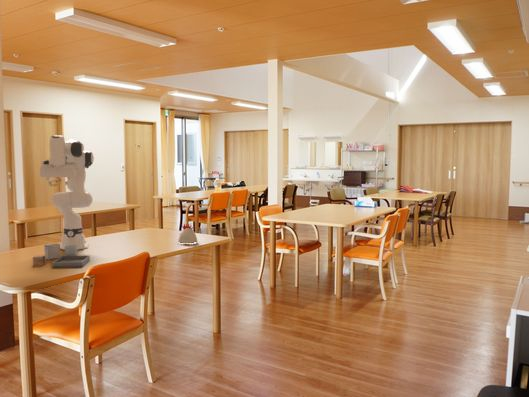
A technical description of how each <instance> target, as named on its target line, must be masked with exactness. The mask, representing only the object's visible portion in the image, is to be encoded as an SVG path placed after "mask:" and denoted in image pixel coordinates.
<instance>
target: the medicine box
mask: <svg viewBox="0 0 529 397" xmlns="http://www.w3.org/2000/svg"><path fill="white" fill-rule="evenodd" d="M43 247H44V255H45V260H47V259H48V260H53V259H55V260H56V259H58V258H60V257H61V249H60V247H61V243H58V242H57V243H49V244H44V246H43Z"/></svg>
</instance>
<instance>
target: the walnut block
mask: <svg viewBox="0 0 529 397" xmlns="http://www.w3.org/2000/svg"><path fill="white" fill-rule="evenodd" d="M32 265H33V267H34V266H35V267H36V266H37V267H38V266H39V267H40V266H42V265H43V266H44V265H46V259H45V254H43V255H42V254H40V255H34V256H33V257H32Z"/></svg>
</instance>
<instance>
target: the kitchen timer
mask: <svg viewBox="0 0 529 397" xmlns="http://www.w3.org/2000/svg"><path fill="white" fill-rule="evenodd" d="M181 226H182V229H183V230H182V231H181V232H180V233H179V236H178V239H177V243H178V242H180V243H194V242H197V243H198V237H197V235H196V232H195V231H194V230H193V228H194V226H192V225H190V223H183V225H181Z"/></svg>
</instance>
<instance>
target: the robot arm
mask: <svg viewBox="0 0 529 397" xmlns="http://www.w3.org/2000/svg"><path fill="white" fill-rule="evenodd" d="M84 148H85V147H84V144H83V143H82V142H81V141H80V140H77V139H73V138H69V139H66V140H65V137H64V135H61V134H60V135H59V134H57V135H55V134H54V135H51V136H50V137H49V152H50V153H49V159H46V160H42V161H41V166H40V168H39V177H40V178H46V181H47V182H48V183H47V184H48V185H49V186H51V185H52V181H51V180H50V178H66V179H67V180H66V181H65V182H64V183H65V184H64V185H66V187H67V189H68V190H69V191H59V192H55V193H54V194H53V195H52V198H51V203H52V205H53V206H54V207H55V208H56V209H58V210H59V211H60V213H61V215H62V217H63V235H61V243H60V250H64V251H65V246H72V245H74V246H77V251H79V250H82V249H83V250H84V249H89V244H90V243H89V242H87V241H86V237H85V235H84V233H83V231H84V230H83V229H84V227H83V224H82V220H83V219H82V216H81V215H80V214H79V213H76V211H74V210H73V209H83V208H88V207H89V208H90V206H91V205H92V204H93V196H92V194H91V193H90V192H88V191H86V189H85V183H86V178H87V177H86V176H87V174H86V169H89V168H90V167H91V166H92V165H93V163H94V161H95V160H94V159H95V157H94V154H93V152H92V151H88V150H85V149H84Z"/></svg>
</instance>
